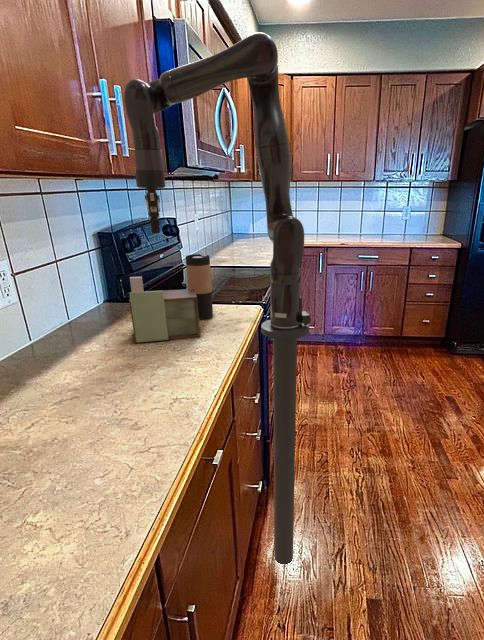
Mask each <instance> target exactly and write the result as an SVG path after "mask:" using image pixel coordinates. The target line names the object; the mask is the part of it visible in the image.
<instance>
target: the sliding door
mask: <svg viewBox="0 0 484 640" xmlns="http://www.w3.org/2000/svg"><path fill="white" fill-rule="evenodd" d="M129 285H130V292H129V300H131V307H132V314H133V321H134V328H135V335H136V342H141V343H148V342H147V341H152V342H158V341H157V340H162V341H169V340H168V331H167V322H166V313H165V304H164V295H163V291H164V290H148V291H144V283H143V276H142V275H141V276H129Z"/></svg>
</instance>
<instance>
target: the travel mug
mask: <svg viewBox="0 0 484 640" xmlns="http://www.w3.org/2000/svg"><path fill="white" fill-rule="evenodd" d="M210 260H211V259H210V255H209V254H206V255H202V254H200V253H194V254H188V255H186V256H185V267H186V268H185V269H186V279H187V281H186V282H187V289H194V292H195V294H196V296H197V303H198V316H199V321H201V320H209V319H212V318H213V317H214V316H213V315H214V307H213V286H212V274H211V273H212V271H211V261H210Z"/></svg>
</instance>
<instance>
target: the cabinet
mask: <svg viewBox="0 0 484 640" xmlns="http://www.w3.org/2000/svg"><path fill="white" fill-rule="evenodd" d="M163 295H164V304H165V313H166V322H167V331H168V340H167V341H171V340H172V341H173V340H183V339H192V338H193V339H195V338H200V337H201V331H200V320H199V316H198V303H197V296H196V294H195V292H194V289H188V288H183V289H168V290H167V289H166V290H163ZM128 302H129V309H130V316H131V323H132V329H133V336H134V337H133V338H134V343H135V344H141V343H142V342H136V335H135V328H134V321H133V314H132V307H131V300H130V299H129V301H128ZM161 341H163V340H157V341H156V342H161ZM149 342H150V343H151V342H153V341H147V342H146V343H149Z"/></svg>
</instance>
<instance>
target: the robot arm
mask: <svg viewBox="0 0 484 640" xmlns="http://www.w3.org/2000/svg"><path fill="white" fill-rule="evenodd" d="M240 79H241V80H242V79H247V84H248V87H249V92H250V93H249V94H250V97H251V101H252V102H251V103H252V108H253V109H252V110H253V111H252V112H253V136H254V137H253V138H254V148H255V154H256V160H257V166H258V170H259V176H260V181H261V186H262V190H263V191H262V192H263V195H264V201H265V211H266V212H265V213H266V229H267V236H268V238H269V240H270V242H271V243H272V260H271V261H270V265H269V266H270V267H269V275H270V276H269V277H270V280H269V282H270V283H269V284H270V289H269V291H270V320H271V322H270V326H271V327H272V328H274V329H278V330H293V329H297V328H299V327H302V324H304V325H305V326H306V325H308V324H309V325H310V323H311V322H312V318H311V315H310V314H309V312H307V311H305V310H303V300H304V299H303V297H302V296H301V287H302V285H301V283H302V281H301V280H302V265H303V262H304V254H305V229H304V224H303V223H302V222H301V220H300V219H298V218H297V217H294V213H293V209H292V204H291V203H292V202H291V196H290V194H291V193H290V192H291V191H290V187H291V179H292V154H291V145H290V137H289V134H288V129H287V123H286V120H285V116H284V112H283V109H282V104H281V98H280V83H279V82H280V81H279V50H278V46H277V44H276V42H275V40H274V39H273V38H272V37H271V36H270V35H269V34H267V33H266V32H261V31H260V32H258V31H257V32H254V33H251V34H250V35H248V36H246V37H245V38H243V39H241V40H240V41H238V42H236V43H234V44H233V45H231V46H229V47H227V48H226V49H223V50H221V51H219V52H217V53H214V54H213V55H209V56H207V57H205V58H202V59H199V60H195V61H193V62H190V63H187V64H184V65H180V66H178V67H175V68H172V69H170V70H167V71H165V72H162V74H160V76H159V78H157V79H155V80H151V81H150V82H145V81H143V80H141V79H137V78H132V79H130V80H128V81H127V82H126V83H125V85H124V89H123V104H124V109H125V113H126V117H127V120H128V124H129V127H130V130H131V140H132V139H133V142H132V147H133V146H134V149H135V150H134V149H133V150H134V151H135V165H136V173H135V172H134V175H135V183H136V184H135V185H136V187H137V188H139V189H145V190H146V194H144V202H145V204H146V205H145V206H146V212H148V218H149V220H150V229H151V233H152V234H160V232H161V228H160V212H161V205H160V203H161V196H160V194H158V193H157V189H164V188H166V178H165V169H164V159H163V155H162V148H161V146H162V145H161V135H160V132H159V129H158V127H157V125H156V123H155V117H154V115H155V114H158V113H160V112H162V111H165V110H167V109H169V108H170V107H172V106H173V105H177V104H180V103H183V102H187V101H190V100H193V99H195V98H197V97H200V96H202V95H204V94H206V93H208V92H210V91H212V90H214V89H215V88H218V87H219V86H221V85H224V84H227V83H229V82H232V81H236V80H240ZM134 151H133V152H134Z"/></svg>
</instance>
